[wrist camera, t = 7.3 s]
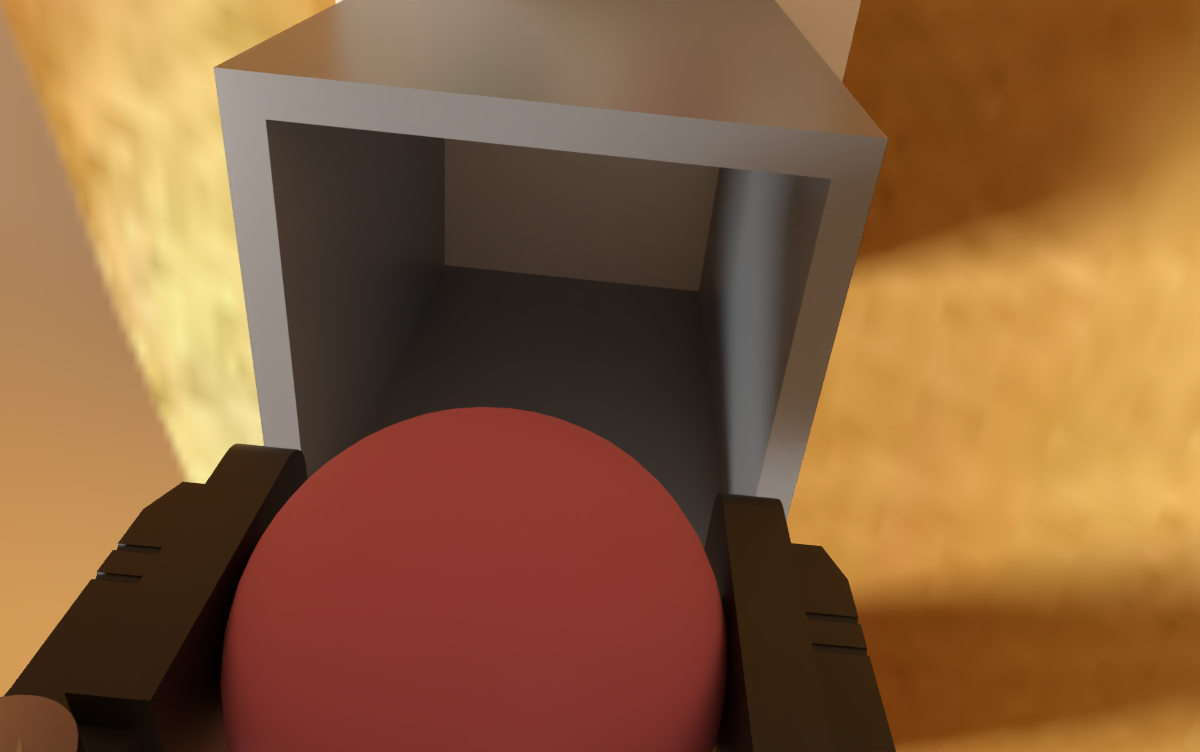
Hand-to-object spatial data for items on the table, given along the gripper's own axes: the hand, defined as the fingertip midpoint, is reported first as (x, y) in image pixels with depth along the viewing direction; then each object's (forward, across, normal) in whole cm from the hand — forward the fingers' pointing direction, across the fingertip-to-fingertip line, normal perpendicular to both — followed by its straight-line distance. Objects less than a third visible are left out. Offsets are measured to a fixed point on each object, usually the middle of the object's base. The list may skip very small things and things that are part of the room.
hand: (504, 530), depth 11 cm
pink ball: (-2, 0, 0) cm, 2 cm away
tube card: (+16, 0, -3) cm, 16 cm away
